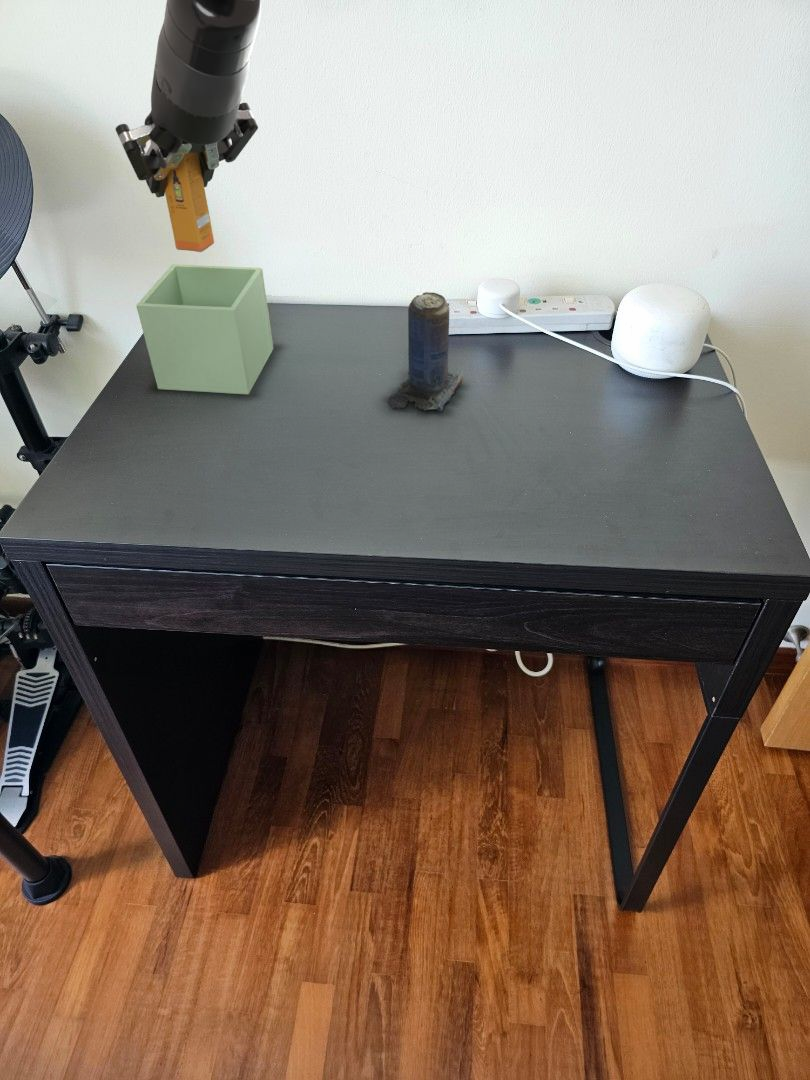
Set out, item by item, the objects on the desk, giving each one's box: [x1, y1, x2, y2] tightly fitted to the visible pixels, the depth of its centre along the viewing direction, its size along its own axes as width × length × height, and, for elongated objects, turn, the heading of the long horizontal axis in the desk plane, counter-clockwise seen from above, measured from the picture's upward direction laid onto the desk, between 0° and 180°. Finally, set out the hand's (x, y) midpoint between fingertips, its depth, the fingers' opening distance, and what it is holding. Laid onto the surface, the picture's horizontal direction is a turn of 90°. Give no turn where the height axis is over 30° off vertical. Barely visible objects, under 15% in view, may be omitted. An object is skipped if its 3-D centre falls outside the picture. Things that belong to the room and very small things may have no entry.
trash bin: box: [135, 263, 275, 395], centre depth 94 cm, size 11×11×11 cm
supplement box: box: [164, 153, 215, 253], centre depth 83 cm, size 3×3×10 cm
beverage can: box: [387, 291, 463, 413], centre depth 88 cm, size 9×8×12 cm
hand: (177, 184), depth 84 cm, fingers closed on supplement box, 4 cm apart
